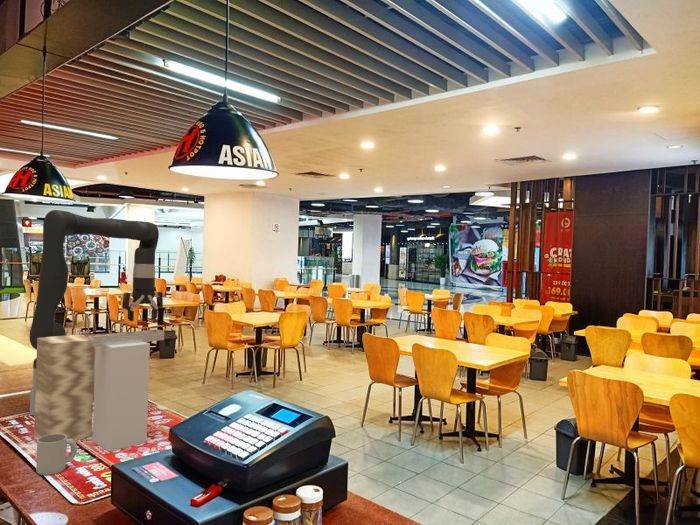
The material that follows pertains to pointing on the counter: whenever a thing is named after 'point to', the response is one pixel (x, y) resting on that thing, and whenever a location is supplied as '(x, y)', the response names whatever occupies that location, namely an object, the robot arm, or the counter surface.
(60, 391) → the walnut stand
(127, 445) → the block
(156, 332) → the wooden block
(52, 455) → the cup
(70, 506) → the counter surface
